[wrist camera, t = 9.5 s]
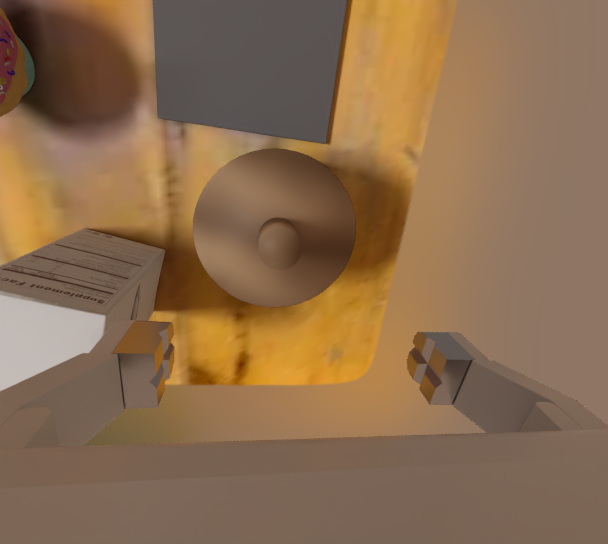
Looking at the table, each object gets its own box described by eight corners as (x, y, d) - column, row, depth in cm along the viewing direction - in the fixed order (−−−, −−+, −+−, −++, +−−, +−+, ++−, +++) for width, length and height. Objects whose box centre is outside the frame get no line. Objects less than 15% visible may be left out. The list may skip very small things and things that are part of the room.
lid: (194, 136, 20) (179, 134, 16) (366, 160, 22) (388, 163, 18) (195, 299, 24) (184, 326, 20) (338, 305, 26) (352, 331, 22)
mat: (149, -123, 19) (147, -128, 19) (355, -63, 22) (357, -67, 21) (159, 118, 24) (157, 117, 24) (324, 143, 27) (325, 143, 27)
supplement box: (155, 312, 31) (94, 411, 19) (75, 295, 29) (-46, 392, 18) (169, 248, 29) (109, 316, 17) (83, 224, 27) (-51, 283, 15)
